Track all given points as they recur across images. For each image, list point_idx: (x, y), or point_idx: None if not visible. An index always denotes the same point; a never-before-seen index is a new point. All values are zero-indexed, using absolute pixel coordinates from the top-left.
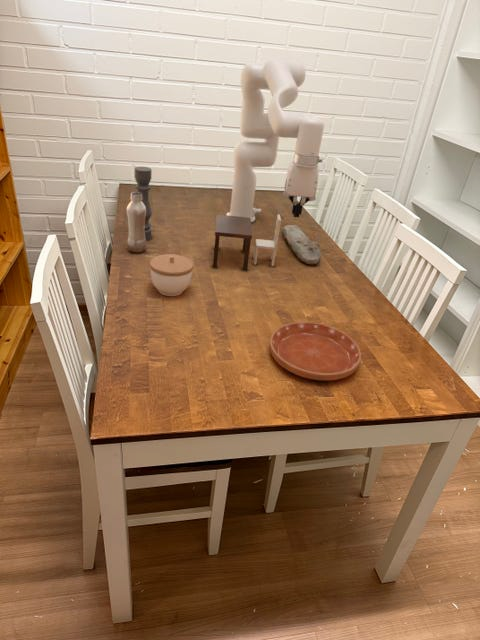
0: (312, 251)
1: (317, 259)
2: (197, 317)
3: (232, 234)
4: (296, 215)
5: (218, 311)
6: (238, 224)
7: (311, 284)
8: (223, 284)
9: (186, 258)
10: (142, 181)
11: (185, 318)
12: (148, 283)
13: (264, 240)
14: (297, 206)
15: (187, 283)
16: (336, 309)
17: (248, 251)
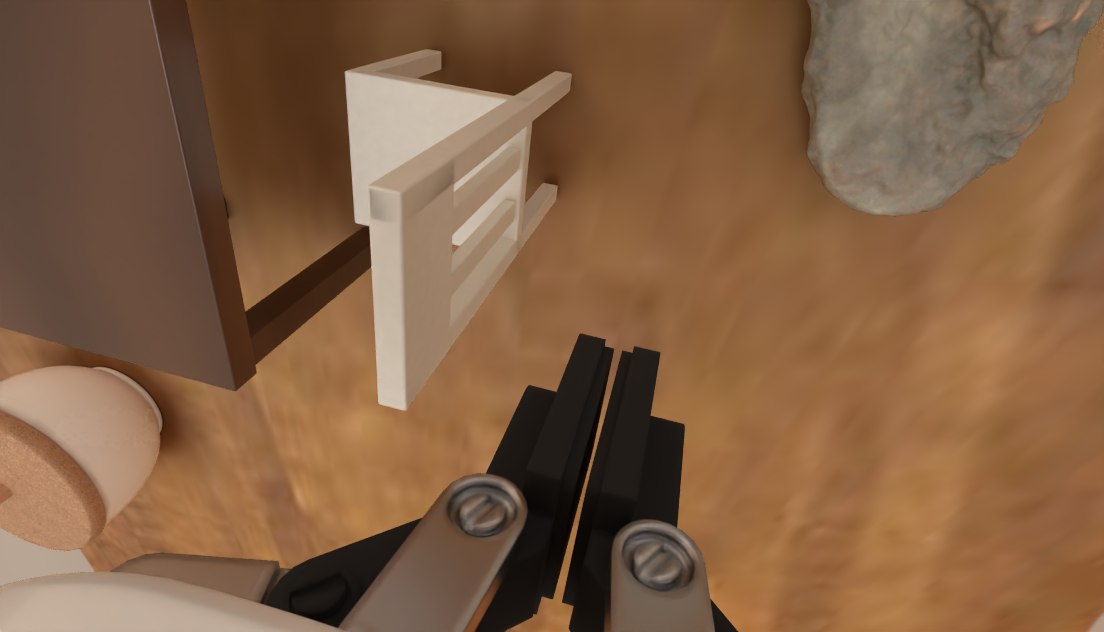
0: (979, 56)
1: (937, 205)
2: (251, 546)
3: (103, 349)
4: (586, 472)
5: (303, 532)
6: (67, 143)
7: (735, 418)
8: (290, 379)
9: (34, 463)
10: None
11: (222, 543)
12: (34, 350)
13: (421, 105)
14: (538, 604)
15: (141, 487)
16: (754, 604)
17: (308, 314)
